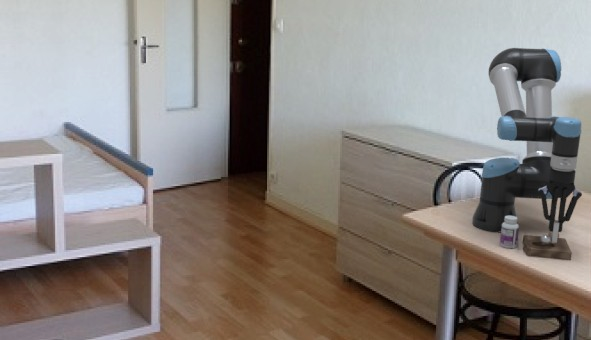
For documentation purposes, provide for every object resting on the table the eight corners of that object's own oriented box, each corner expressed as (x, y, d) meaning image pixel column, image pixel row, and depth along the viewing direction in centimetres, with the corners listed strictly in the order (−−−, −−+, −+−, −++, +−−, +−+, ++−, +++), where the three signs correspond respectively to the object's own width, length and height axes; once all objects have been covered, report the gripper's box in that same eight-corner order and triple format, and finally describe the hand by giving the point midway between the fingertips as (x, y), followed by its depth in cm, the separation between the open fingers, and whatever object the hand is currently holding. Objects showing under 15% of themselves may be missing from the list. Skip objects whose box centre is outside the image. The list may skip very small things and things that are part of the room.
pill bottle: (508, 241, 246) (511, 213, 244) (520, 247, 242) (523, 218, 239) (496, 244, 244) (499, 215, 241) (507, 249, 239) (510, 220, 237)
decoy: (548, 240, 241) (549, 230, 240) (546, 237, 244) (548, 227, 243) (559, 241, 240) (560, 231, 240) (557, 238, 244) (559, 228, 243)
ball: (554, 241, 235) (547, 249, 236) (552, 237, 238) (545, 245, 239) (546, 234, 234) (538, 242, 235) (544, 231, 238) (536, 239, 239)
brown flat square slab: (525, 255, 234) (526, 248, 233) (521, 241, 246) (521, 234, 246) (570, 260, 232) (571, 252, 231) (564, 245, 244) (565, 238, 244)
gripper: (542, 169, 228) (533, 243, 234) (587, 173, 226) (577, 247, 232) (539, 163, 235) (530, 235, 241) (582, 166, 233) (573, 239, 239)
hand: (553, 241), depth 236 cm, fingers closed
